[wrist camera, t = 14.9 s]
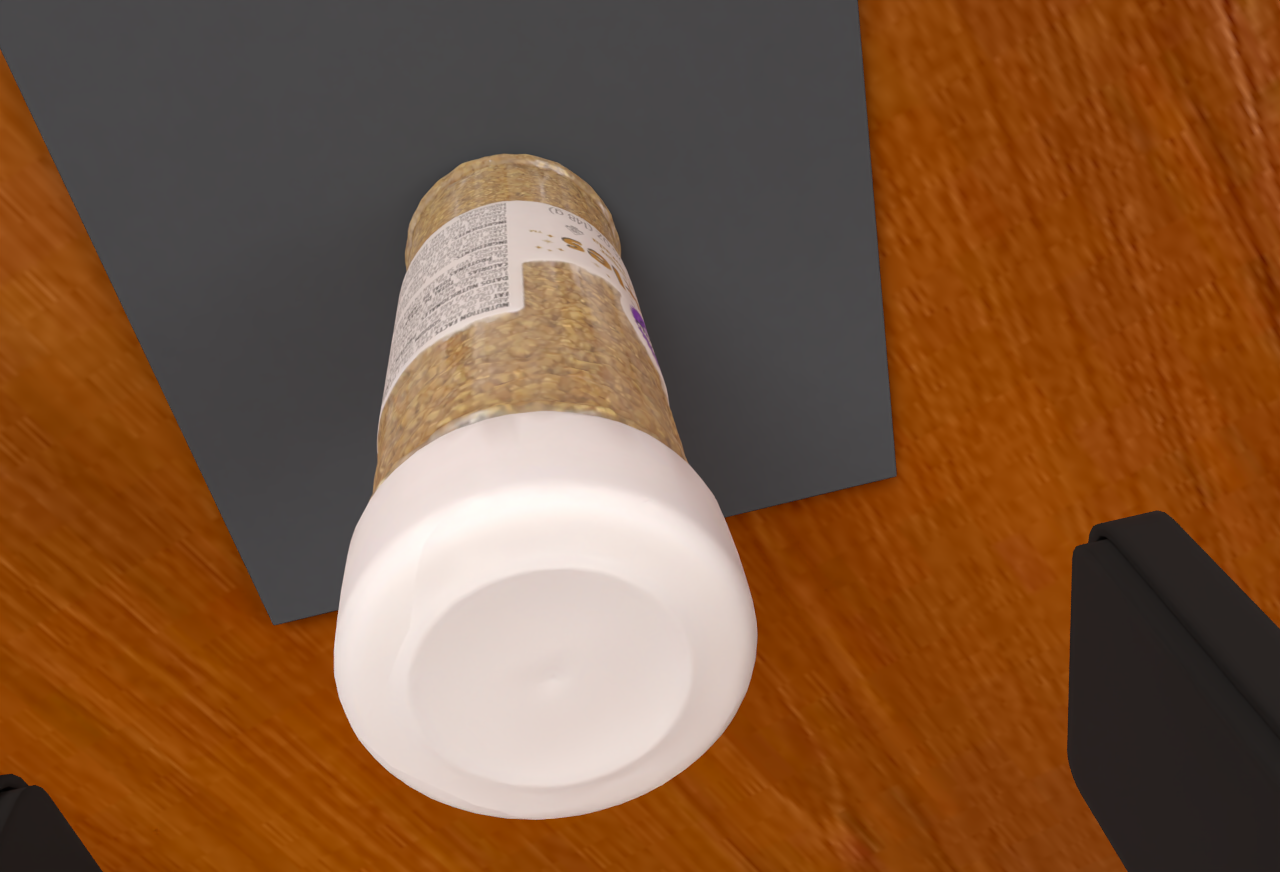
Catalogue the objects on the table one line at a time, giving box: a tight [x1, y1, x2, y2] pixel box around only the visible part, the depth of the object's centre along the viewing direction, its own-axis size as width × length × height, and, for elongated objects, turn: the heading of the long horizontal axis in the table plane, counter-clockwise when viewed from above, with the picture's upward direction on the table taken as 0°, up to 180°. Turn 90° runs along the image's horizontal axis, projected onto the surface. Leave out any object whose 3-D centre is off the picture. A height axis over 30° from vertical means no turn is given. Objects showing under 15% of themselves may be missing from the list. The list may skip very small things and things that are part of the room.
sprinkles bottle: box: [334, 154, 757, 820], centre depth 17 cm, size 5×5×13 cm
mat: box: [0, 0, 897, 625], centre depth 23 cm, size 16×16×1 cm
